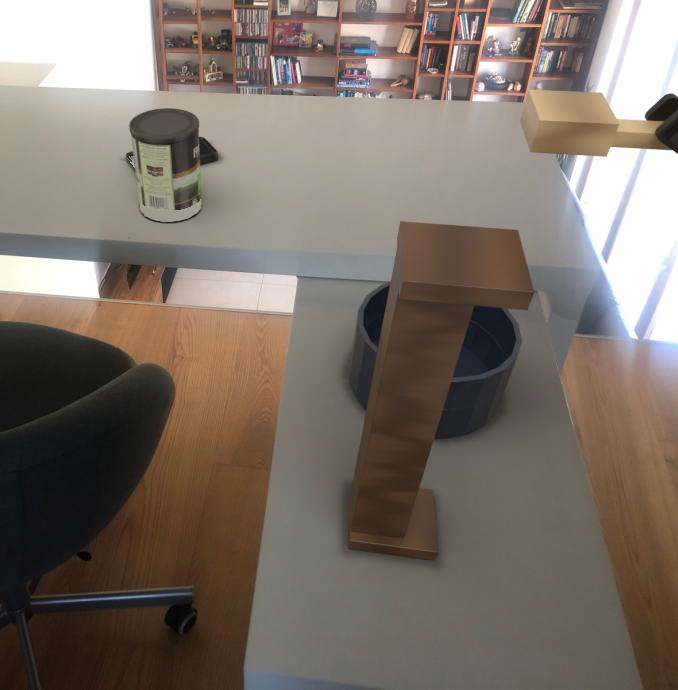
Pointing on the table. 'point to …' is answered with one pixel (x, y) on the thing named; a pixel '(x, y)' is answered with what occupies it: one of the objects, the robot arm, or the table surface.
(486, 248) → the stand
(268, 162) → the table surface
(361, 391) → the pot
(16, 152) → the table surface
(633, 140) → the t-shaped wooden block
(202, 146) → the phone
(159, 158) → the coffee can
